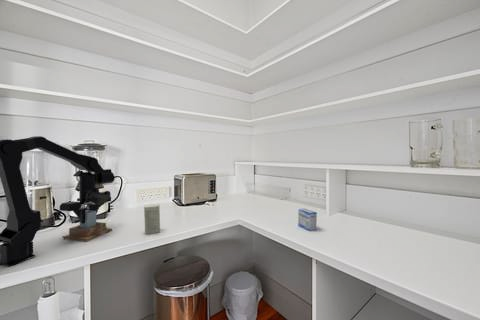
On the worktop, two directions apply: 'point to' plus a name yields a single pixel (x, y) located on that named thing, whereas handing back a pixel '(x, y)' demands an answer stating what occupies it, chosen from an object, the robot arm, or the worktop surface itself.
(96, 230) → the walnut socket
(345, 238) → the worktop surface
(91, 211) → the slate peg
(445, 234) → the worktop surface
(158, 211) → the skincare box
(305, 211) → the medicine box
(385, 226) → the worktop surface
